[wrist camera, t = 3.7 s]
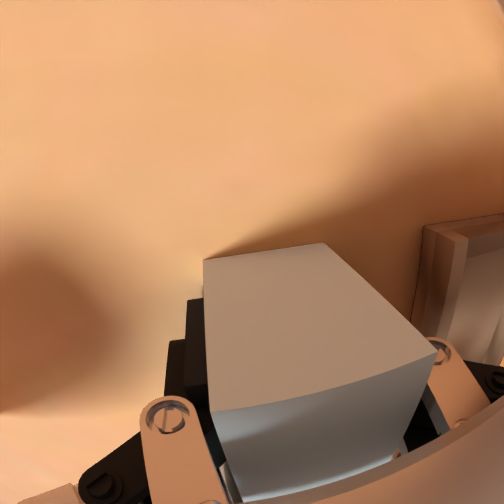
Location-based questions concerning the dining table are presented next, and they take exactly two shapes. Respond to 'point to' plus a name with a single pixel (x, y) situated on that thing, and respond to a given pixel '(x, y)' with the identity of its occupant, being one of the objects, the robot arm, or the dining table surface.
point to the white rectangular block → (306, 369)
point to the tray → (463, 288)
